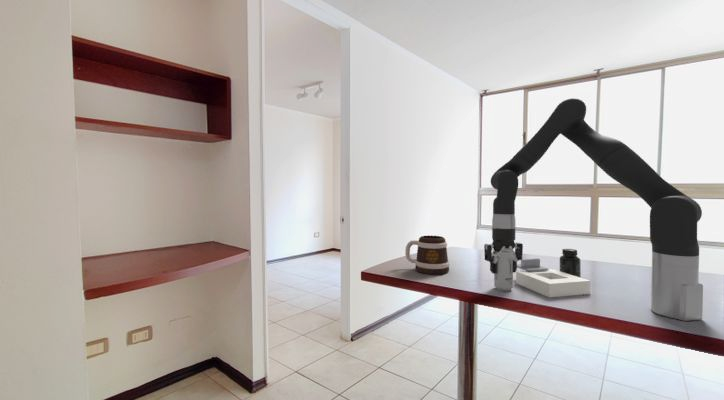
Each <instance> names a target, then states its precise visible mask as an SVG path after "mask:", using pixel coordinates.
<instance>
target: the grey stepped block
mask: <svg viewBox="0 0 724 400" xmlns="http://www.w3.org/2000/svg"><path fill="white" fill-rule="evenodd" d="M517 269H520V270H522V271H529V272H530V271H545V270H548V269H549V268H547V267H544V266H542V265H541V259H540V258H539V257H536V258H522V260H520V264H518V263H517Z"/></svg>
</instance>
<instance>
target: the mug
mask: <svg viewBox="0 0 724 400" xmlns="http://www.w3.org/2000/svg"><path fill="white" fill-rule="evenodd" d="M413 245H417V249H416V250H417V252H416V258H413V257H411V255H410V254H411V247H412V246H413ZM447 247H448V242H447V241H446V238H445V237H443V236H440V235H422V236H420V237H419V238H418V240H415V239H414V240H410V241H409V242H407V244H406V246H405V251H404V252H405V258H406V260H407V261H408V262H410V263H411V264H415V270H416V271H417V272H418V273H421V274H425V275H438V276H439V275H444V274H447V273H448V272H450V264H451V263H450V261H449V258H448V249H447Z"/></svg>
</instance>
